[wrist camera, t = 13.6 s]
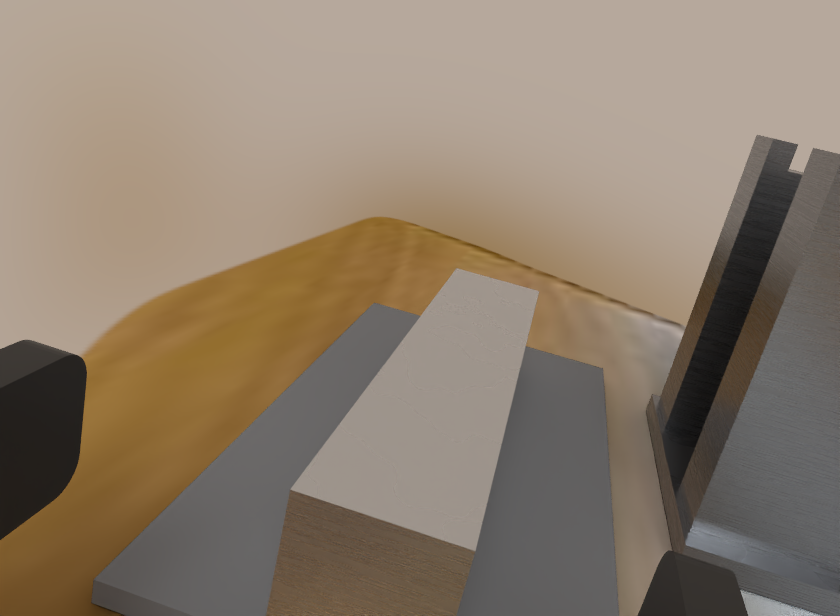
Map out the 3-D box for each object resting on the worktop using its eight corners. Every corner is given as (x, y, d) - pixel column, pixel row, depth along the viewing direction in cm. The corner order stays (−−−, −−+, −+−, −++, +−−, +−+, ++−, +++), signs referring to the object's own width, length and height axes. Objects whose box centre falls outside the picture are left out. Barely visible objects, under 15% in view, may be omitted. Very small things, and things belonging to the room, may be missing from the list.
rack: (933, 650, 20) (1174, 233, 16) (676, 568, 21) (845, 155, 17) (814, 460, 30) (943, 179, 26) (646, 410, 31) (747, 132, 27)
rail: (430, 700, 14) (474, 551, 13) (261, 638, 14) (290, 489, 13) (516, 368, 31) (539, 291, 30) (437, 344, 31) (456, 268, 30)
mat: (618, 797, 14) (629, 774, 13) (91, 602, 15) (93, 579, 15) (599, 380, 33) (602, 368, 33) (371, 314, 35) (374, 302, 34)
